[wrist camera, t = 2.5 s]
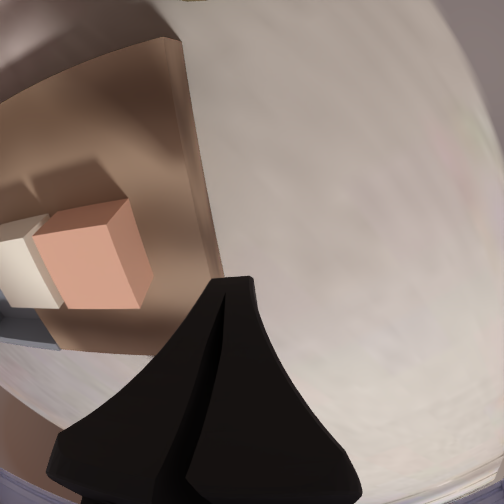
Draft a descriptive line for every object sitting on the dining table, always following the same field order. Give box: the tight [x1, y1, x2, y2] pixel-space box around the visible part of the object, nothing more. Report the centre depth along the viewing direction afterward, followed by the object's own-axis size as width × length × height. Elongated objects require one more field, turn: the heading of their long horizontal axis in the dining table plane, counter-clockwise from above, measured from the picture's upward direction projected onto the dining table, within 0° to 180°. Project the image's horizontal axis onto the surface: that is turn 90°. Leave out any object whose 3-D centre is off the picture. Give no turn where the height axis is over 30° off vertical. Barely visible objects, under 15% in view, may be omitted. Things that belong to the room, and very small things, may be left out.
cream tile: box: [0, 214, 64, 309], centre depth 14 cm, size 4×4×2 cm
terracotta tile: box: [32, 198, 154, 309], centre depth 14 cm, size 4×4×2 cm
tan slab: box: [0, 37, 225, 356], centre depth 16 cm, size 18×14×3 cm
